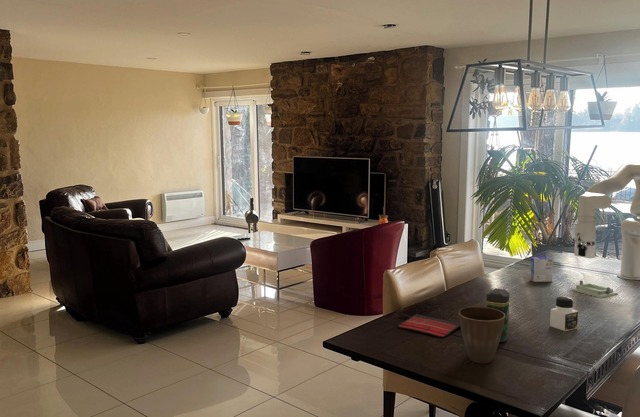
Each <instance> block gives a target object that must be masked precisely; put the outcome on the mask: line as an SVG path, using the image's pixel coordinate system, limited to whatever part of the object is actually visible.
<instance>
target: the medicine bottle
mask: <svg viewBox="0 0 640 417" xmlns="http://www.w3.org/2000/svg"><path fill="white" fill-rule="evenodd" d="M549 317H550V319H549V321H550V322H549V327H551V328H554V329H557V330H559V331H562V332H568V331H572V330H577V329H578V320H579V319H578V318H579V311H578V310H577V309H574V299H573V298H571V297H569V296H564V295H563V296H557V298H555V307H554V308H551V309H550V316H549Z"/></svg>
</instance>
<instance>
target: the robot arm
mask: <svg viewBox="0 0 640 417" xmlns="http://www.w3.org/2000/svg"><path fill="white" fill-rule="evenodd" d="M631 181H634V184H635V192H634V196H633V198H632V200H631V205H630V207H629V213H630V215H632V216H635V217H636V218H635V217H628V218H625V219H623V220H622V222H621V224H620V232H621V258H620V272H618V273H617V275H616V276H617V277H618V278H619V279H623V280H630V281H640V218H637V217H640V161H639V162H637V161H635V162H634V161H627V162H625V163H622V164H621V166H620V167H618V169H617V170H616V171H615V172H614V173H612V174H611V175H610V177H608V178H606V179H604V180H601V181H598V182H597V183H595V184H593V185H591V186H590V187H589V188H588V189H587V190H585V192H584V193H583V194H581V195H579V197H578V212H577V222H576V223H575V224H576V225H575V230H574V245H575V244H577V246H578V248H579V249H578V255H579V256H578V257H580V256H584V254H585V248H584V244H589V245H594V243H595V242H596V241H597V239H596V234H597V233H596V232H597V231H596V230H597V229H596V218H595V217H596V209H598V210H605V209H608V208H609V207H610V206H611V205H612V198H611V196H610V195H608V194H612V193H617V192H620V191H623V189H625V188H626V186H628V184H630V183H631ZM581 243H582V245H581Z"/></svg>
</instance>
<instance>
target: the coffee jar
mask: <svg viewBox="0 0 640 417" xmlns="http://www.w3.org/2000/svg"><path fill="white" fill-rule="evenodd" d="M510 295H511V294H510V293H509V291H507V289H505V288H504V289H503V288H493V289H491V290H489V291H488V292H487V293H486V297H485V307H487V308H493V309H497V310H499V311H502V312H503V313H504V314H505V320H504V326H503V331H502V334H501V338H500V341H499V343H505V342H506V341H507V340H508V337H509V320H510V319H509V318H510V317H509V316H510Z"/></svg>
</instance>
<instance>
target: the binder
mask: <svg viewBox="0 0 640 417" xmlns="http://www.w3.org/2000/svg"><path fill="white" fill-rule="evenodd" d="M397 328H398V329H400V328H402V329H401V330H405V329H406V331H410V330H411V332H416V333H420V334H424V335H430V336H432V337H435V338H438V339H446V338H448V337H450V336H451V335H453V334H455V333H456V332H458V330H457V329H459V328H460V329H461V326H460V322H459V323H458V322H454V321H450V320H447V319H446V320H445V319H439V318H435V317H432V316H425V315H423V314H422V315H421V314H418V313H416V314H414V315H412V316H411V317H408V319H406V320H404V321H402V322H401V323H399V324H398V325H397Z"/></svg>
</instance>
